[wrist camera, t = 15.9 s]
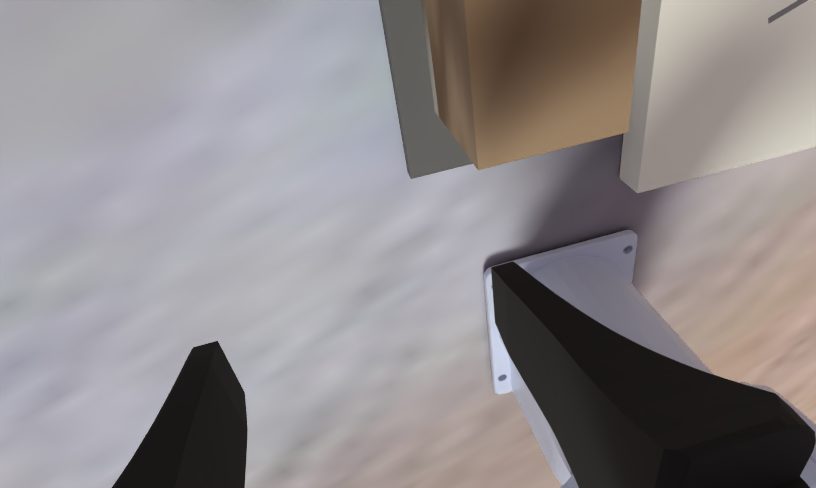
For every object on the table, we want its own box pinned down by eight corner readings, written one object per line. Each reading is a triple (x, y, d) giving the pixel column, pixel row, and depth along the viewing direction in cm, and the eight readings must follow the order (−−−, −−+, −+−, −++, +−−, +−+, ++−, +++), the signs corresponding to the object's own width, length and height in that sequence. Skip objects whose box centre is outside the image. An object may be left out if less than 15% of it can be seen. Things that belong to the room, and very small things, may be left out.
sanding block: (557, 81, 21) (628, 132, 17) (434, 111, 21) (477, 170, 17) (561, -135, 17) (655, -136, 13) (407, -105, 16) (456, -96, 12)
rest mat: (577, 130, 23) (584, 135, 23) (407, 172, 22) (411, 179, 22) (594, -240, 16) (604, -243, 16) (345, -195, 15) (348, -197, 15)
